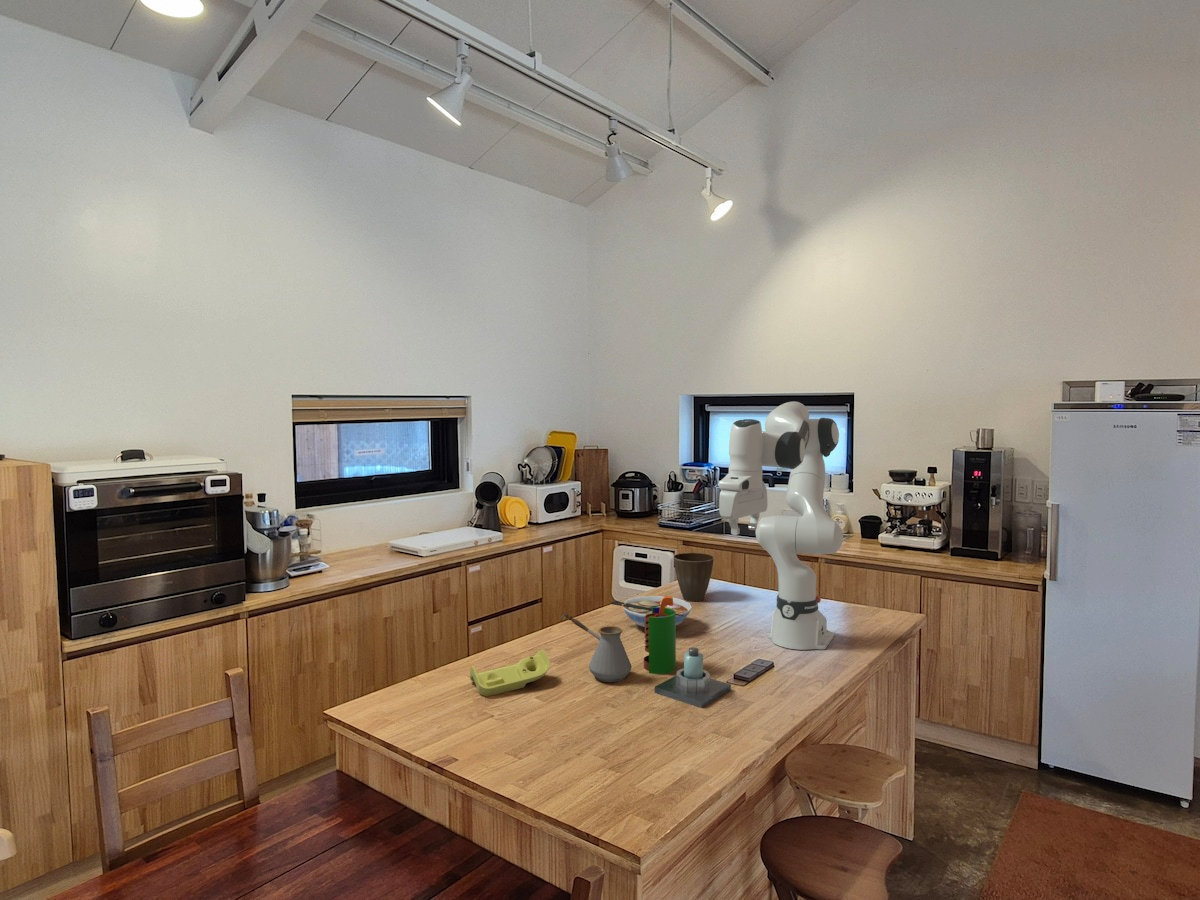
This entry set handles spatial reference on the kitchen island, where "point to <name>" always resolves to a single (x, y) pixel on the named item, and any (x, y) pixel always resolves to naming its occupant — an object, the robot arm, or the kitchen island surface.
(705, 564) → the plant pot
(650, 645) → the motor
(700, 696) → the motor mount
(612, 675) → the coffee pot
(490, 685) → the plastic component
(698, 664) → the capped teal cylinder
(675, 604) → the ramen bowl
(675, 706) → the kitchen island surface
